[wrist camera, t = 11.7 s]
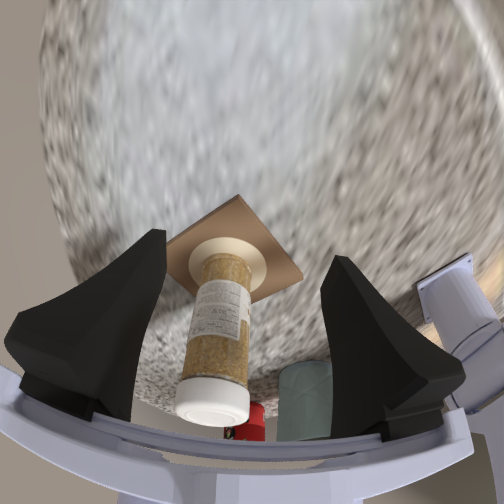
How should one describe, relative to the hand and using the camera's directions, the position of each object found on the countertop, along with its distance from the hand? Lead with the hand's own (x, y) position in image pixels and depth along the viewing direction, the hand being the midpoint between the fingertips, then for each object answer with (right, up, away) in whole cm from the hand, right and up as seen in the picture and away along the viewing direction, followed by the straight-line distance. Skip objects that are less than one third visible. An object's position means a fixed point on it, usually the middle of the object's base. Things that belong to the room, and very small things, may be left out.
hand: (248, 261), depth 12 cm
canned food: (-1, -30, +37) cm, 48 cm away
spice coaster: (-2, -1, +14) cm, 14 cm away
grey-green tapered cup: (+9, -18, +27) cm, 34 cm away
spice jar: (-2, -1, +13) cm, 13 cm away
